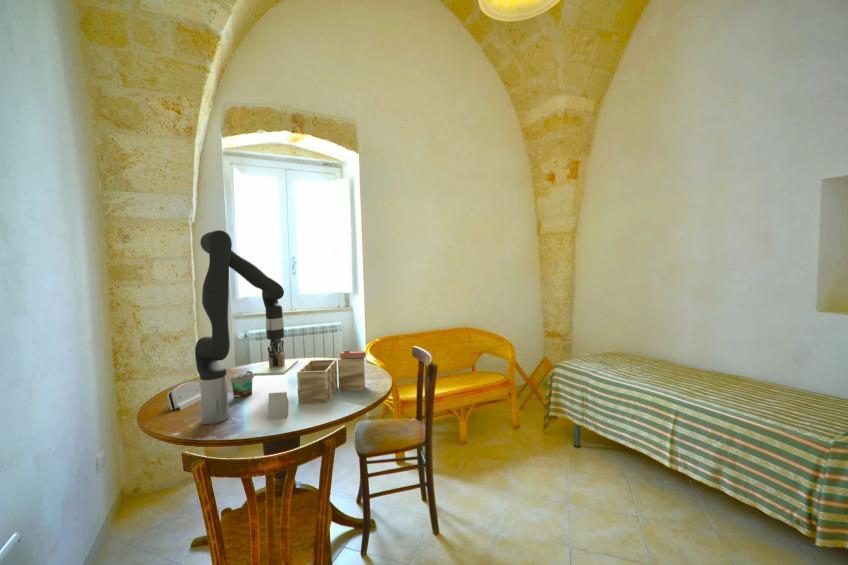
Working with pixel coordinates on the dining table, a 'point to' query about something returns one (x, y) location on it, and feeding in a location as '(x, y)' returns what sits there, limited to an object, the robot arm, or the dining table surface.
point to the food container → (242, 385)
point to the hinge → (184, 395)
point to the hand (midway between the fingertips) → (277, 364)
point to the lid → (276, 370)
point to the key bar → (352, 354)
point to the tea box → (278, 406)
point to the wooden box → (329, 378)
